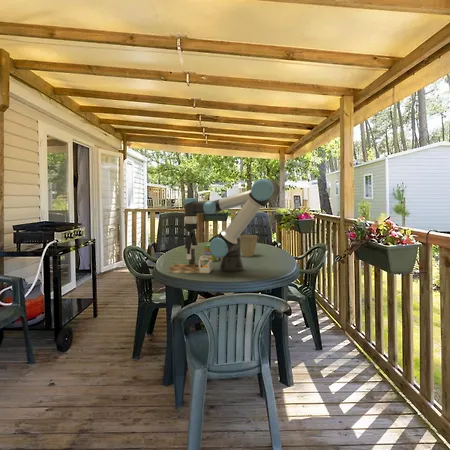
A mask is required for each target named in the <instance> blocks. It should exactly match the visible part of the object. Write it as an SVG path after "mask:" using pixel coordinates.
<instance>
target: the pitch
mask: <svg viewBox="0 0 450 450" xmlns="http://www.w3.org/2000/svg"><path fill="white" fill-rule="evenodd" d="M188 264H189V263H187V264H186V263H181V264H179V263H173V266H169V267H168V268H169V269H168V273H169V274H170V273H171V274H201V273H200V268H199V264H196V267H188ZM201 267H203V265H202V264H201Z"/></svg>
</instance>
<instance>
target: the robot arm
mask: <svg viewBox="0 0 450 450" xmlns="http://www.w3.org/2000/svg"><path fill="white" fill-rule="evenodd" d="M279 194H280V186H279V184H278V182H276V181H275V180H274V179H273V180H272V179H267V178H261V179H257V180H256V181H255V182H253V184H252V186H251V188H250V189H249V190H245V191H242V192H239V193H236V194H232V195H228V196H225V197H222V198H219V199H215V200H203V201H202V200H200V201H199V200H197V198H196V197H194V198H193V197H190V198H189V197H186V198H185V199H184V205H183V206H184V218H183V219H184V229H185V230H187V231H186V237H185V247H184V249H186V260H189V259H191V248H195V257H196V256H197V246H198V241H197V233H196V232H197V230H198V224H197V223H198V214H206V215H209V214H212V215H213V214H217V213H220V212H222V211H227V210H230V209H233V208H237V207H241V208H240V209H239V211H238V213H237V214H236V215H235V217H234V218H233V219H232V221H231V222H230V223H229V225H228V226H227V227H226V229H223V230H221V231H220V232H219V234H218V235H217V236H216V237H214V238H213V239H211V241H210V242H209V244H210V250H211V252H212V254H213V255H214V256H216V257H220V258H221V259H220V260H221V261H220V264H219V271H221V272H240V271H244V265H243V260H242V257H241V254H242V251H241V239H240V235H242V232H244V230H245V229H246V228H247V226H249V224H250V223H251V221H252V220H253V218H254V217H255V216H256V215H257V213H258V212H259V211H260V209H261V208H265V207H266V206H267V205H268V204H269V202H270V201H273V200H275V199H276V198H277V197H278V196H279Z"/></svg>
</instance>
